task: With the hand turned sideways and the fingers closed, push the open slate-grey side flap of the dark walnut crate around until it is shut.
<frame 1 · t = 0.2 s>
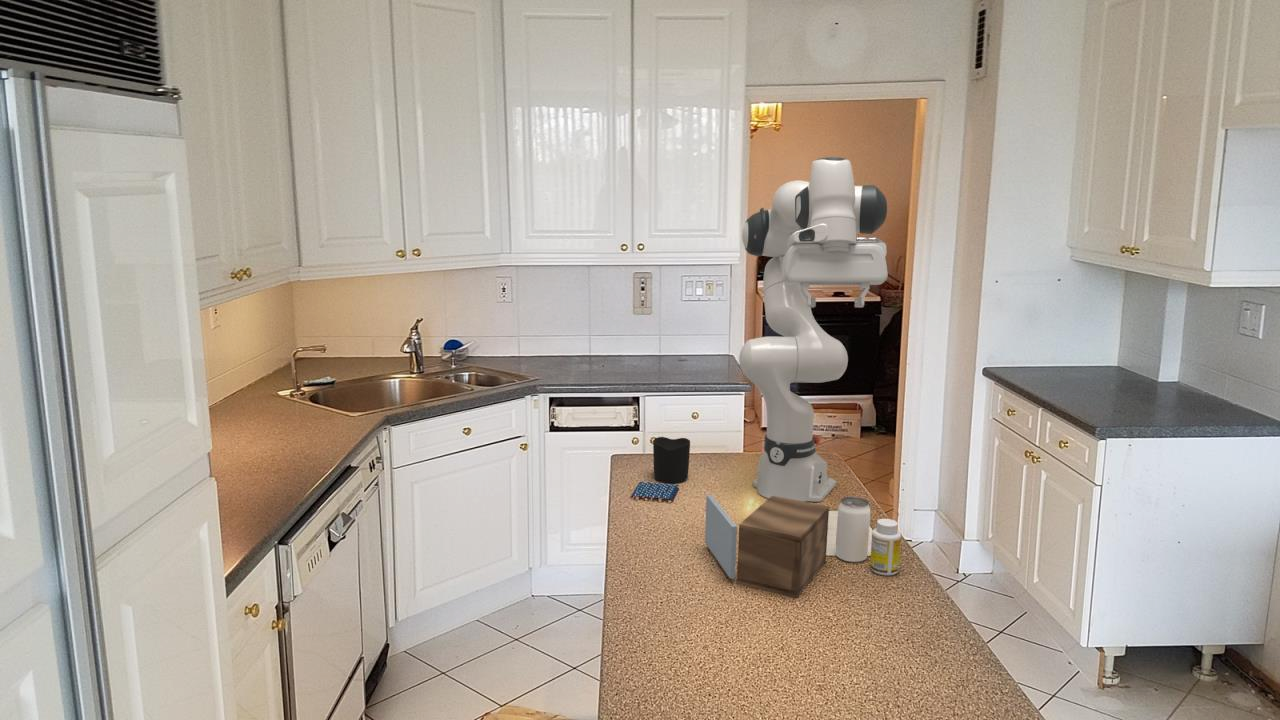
hand: (835, 307, 176), 52 cm above the countertop, tool tilted 20°, fingers open, 8 cm apart
can: (850, 557, 187), on the countertop
woven mat: (654, 497, 221), on the countertop
crate: (782, 572, 179), on the countertop
supplement bottle: (883, 571, 180), on the countertop
flap: (720, 534, 181), point 6 cm above the countertop, hinge at 40.0°
pen holder: (670, 479, 233), on the countertop
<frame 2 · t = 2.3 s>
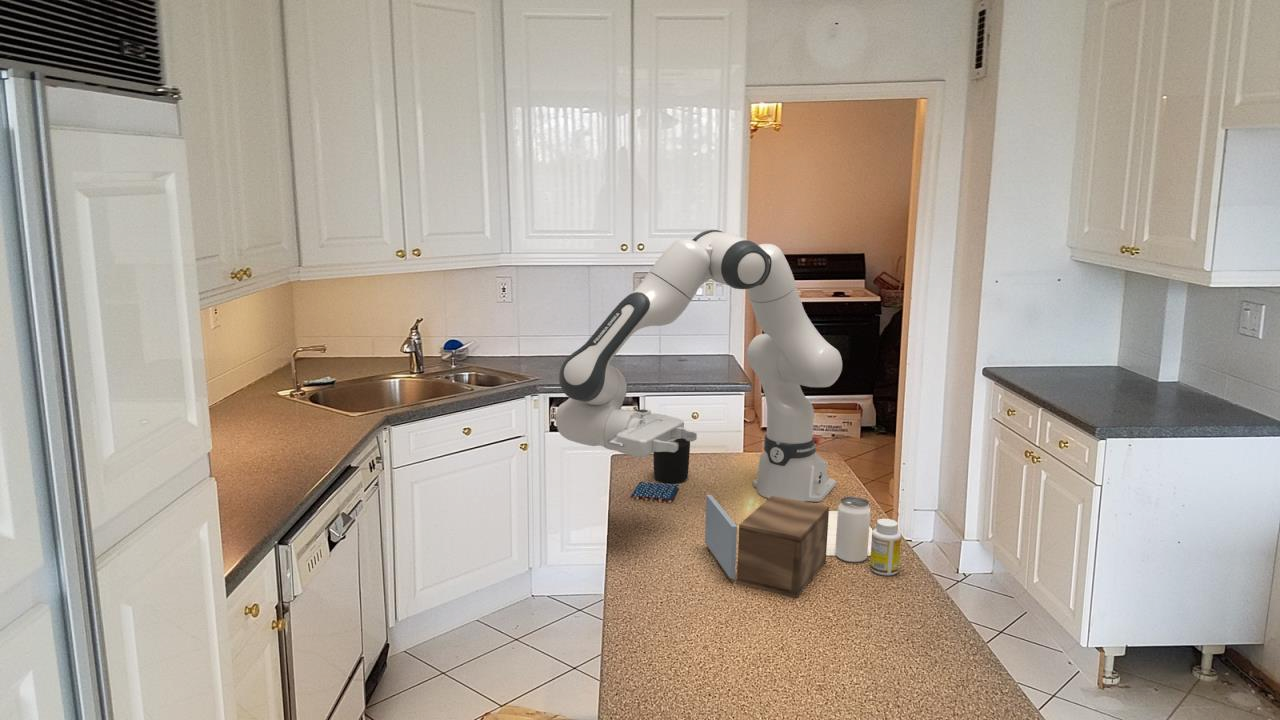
hand: (686, 442, 185), 23 cm above the countertop, tool horizontal, fingers open, 8 cm apart
nothing on the countertop moved.
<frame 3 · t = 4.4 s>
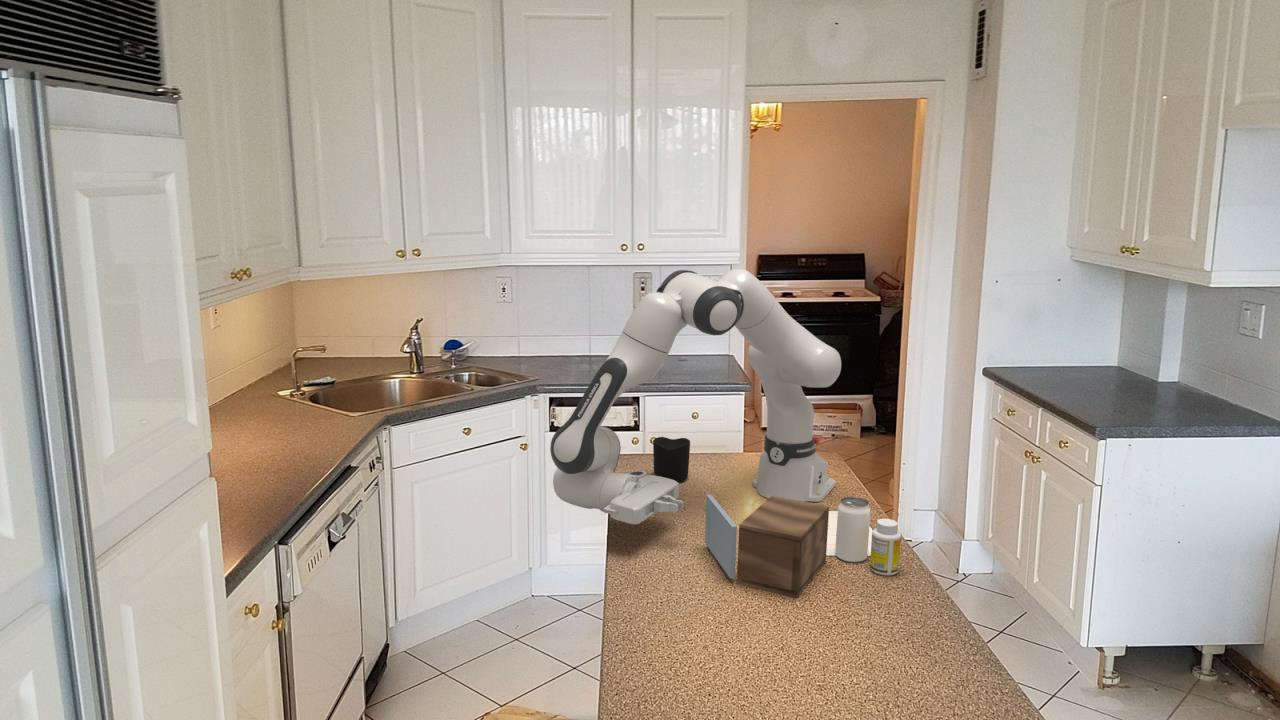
hand: (680, 507, 189), 9 cm above the countertop, tool horizontal, fingers closed
nothing on the countertop moved.
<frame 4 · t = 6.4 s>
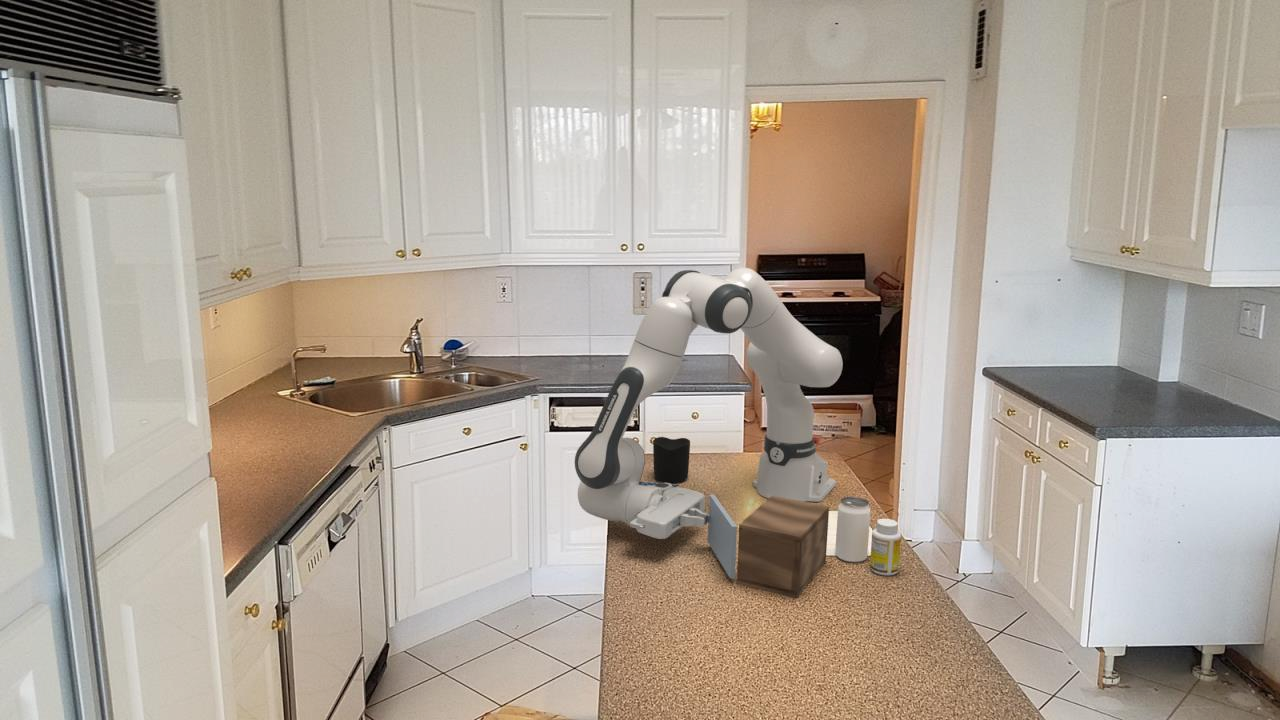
hand: (706, 520, 186), 7 cm above the countertop, tool horizontal, fingers closed
flap: (721, 534, 181), point 6 cm above the countertop, hinge at 37.9°, touching gripper
everything else where it was.
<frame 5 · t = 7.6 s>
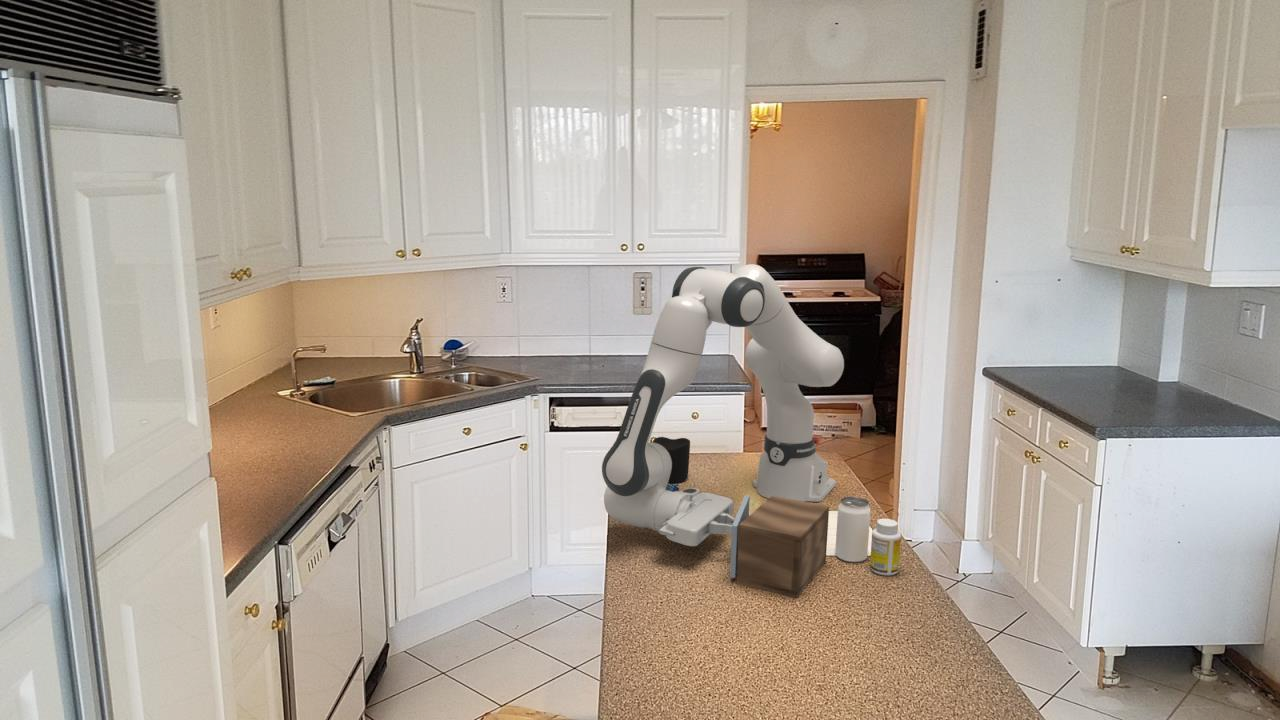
hand: (737, 527, 184), 7 cm above the countertop, tool horizontal, fingers closed
flap: (740, 534, 181), point 6 cm above the countertop, hinge at 13.5°, touching gripper
everything else where it was.
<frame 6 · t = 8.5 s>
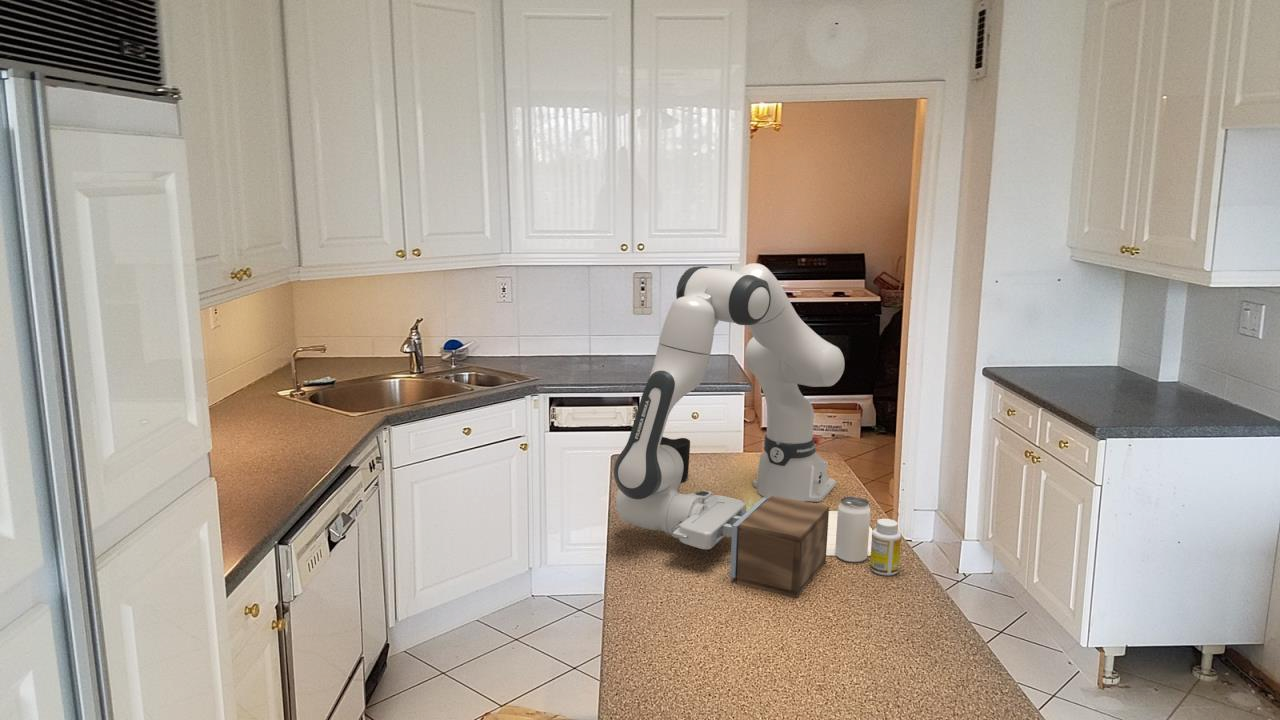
hand: (750, 530, 182), 7 cm above the countertop, tool horizontal, fingers closed on flap
flap: (749, 536, 180), point 6 cm above the countertop, hinge at 1.3°, touching gripper
everything else where it was.
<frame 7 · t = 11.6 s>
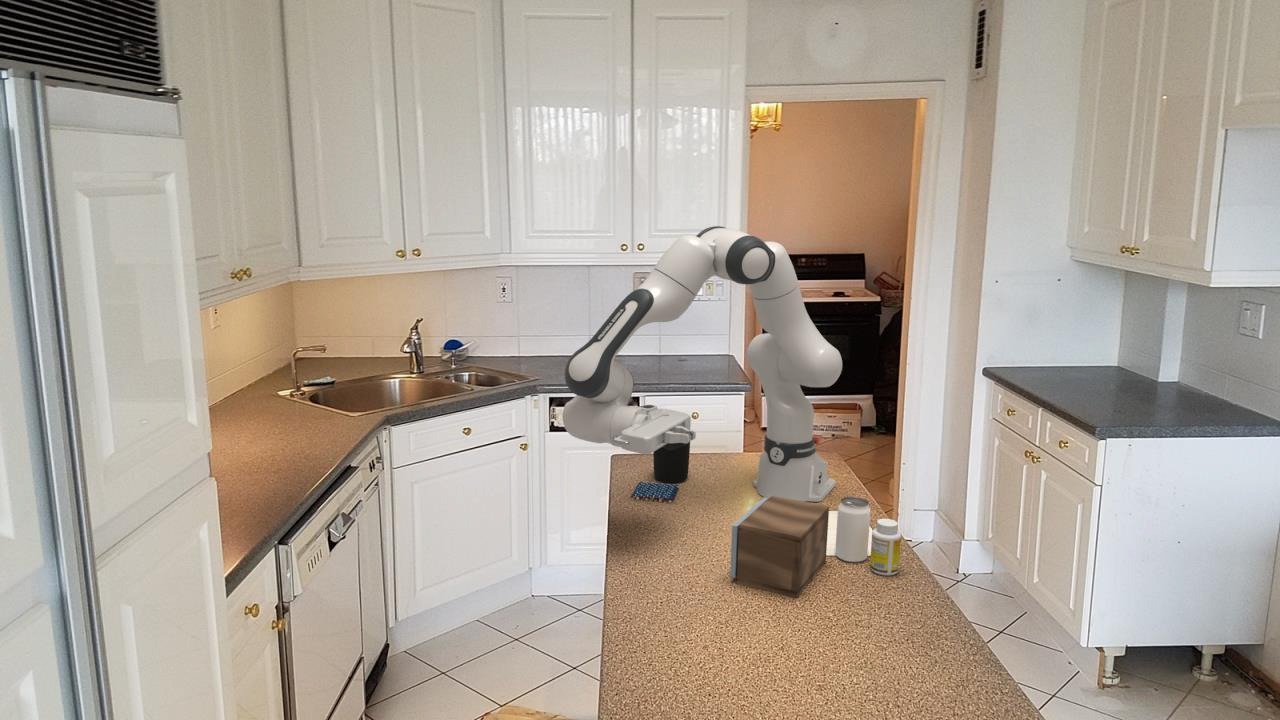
hand: (692, 437, 185), 24 cm above the countertop, tool horizontal, fingers closed
flap: (750, 536, 180), point 6 cm above the countertop, hinge at 0.7°
everything else where it was.
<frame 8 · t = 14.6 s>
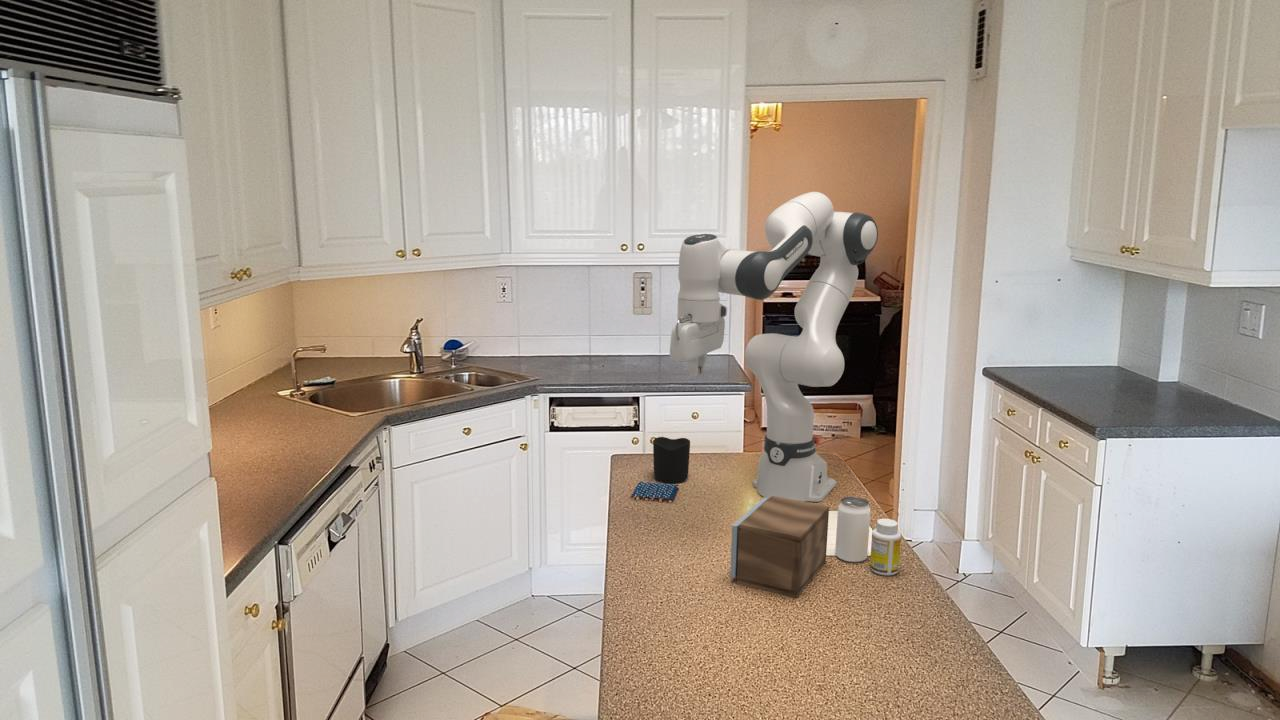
hand: (696, 375, 196), 34 cm above the countertop, tool pointing down, fingers closed
nothing on the countertop moved.
at the end: flap at +1° (first picture: +40°) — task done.
